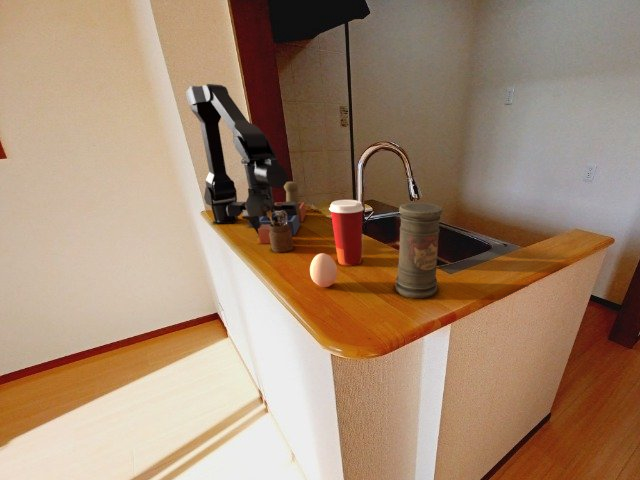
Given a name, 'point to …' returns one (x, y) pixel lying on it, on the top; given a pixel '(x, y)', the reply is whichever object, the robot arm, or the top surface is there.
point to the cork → (291, 192)
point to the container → (418, 249)
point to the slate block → (251, 224)
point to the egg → (323, 270)
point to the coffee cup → (347, 230)
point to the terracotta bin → (301, 213)
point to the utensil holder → (280, 235)
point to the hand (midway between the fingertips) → (269, 237)
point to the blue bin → (291, 220)
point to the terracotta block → (264, 234)
